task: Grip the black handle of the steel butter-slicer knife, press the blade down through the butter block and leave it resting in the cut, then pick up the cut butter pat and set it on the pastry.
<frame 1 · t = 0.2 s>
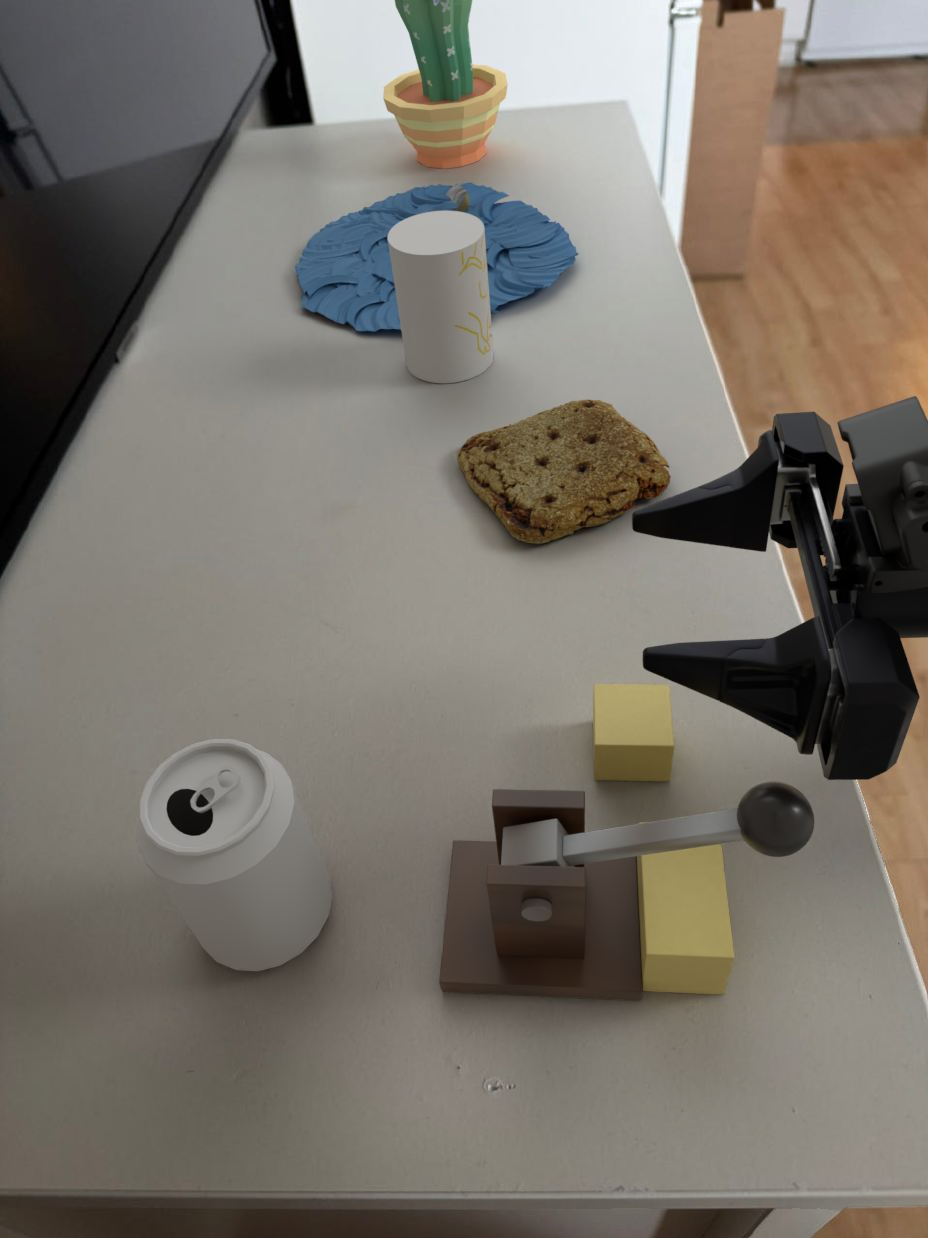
hand: (637, 585, 45), 15 cm above the table, tool horizontal, fingers open, 9 cm apart
potted cactus: (451, 155, 121), on the table
cup: (450, 360, 88), on the table
butter pat: (630, 750, 57), on the table
butter: (677, 926, 49), on the table
can: (268, 912, 52), on the table
decorative plate: (436, 264, 101), on the table
blade: (653, 837, 43), point 9 cm above the table, hinge at 20.0°
pastry: (560, 478, 75), on the table
slicer: (542, 921, 50), on the table
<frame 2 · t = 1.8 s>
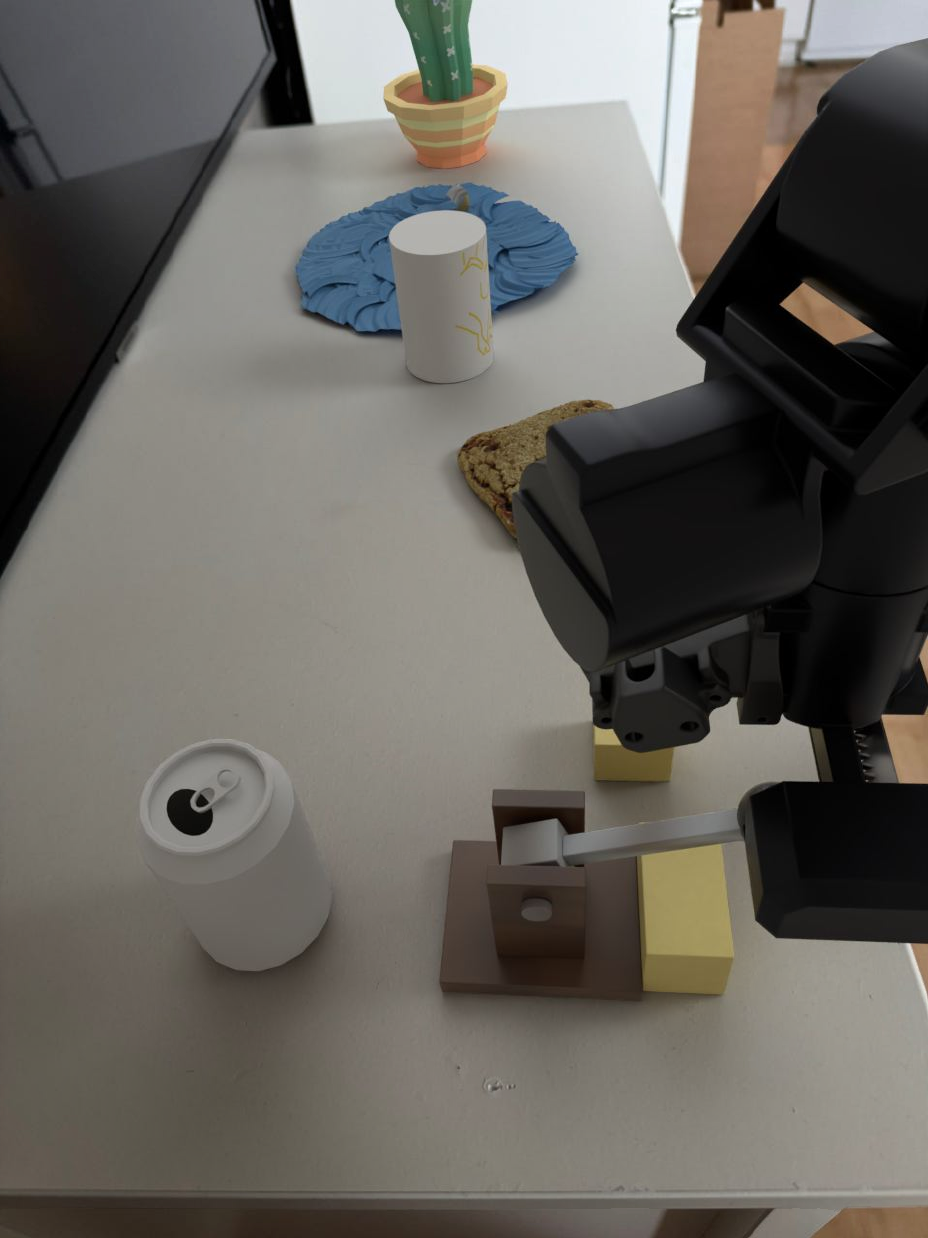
hand: (780, 804, 40), 12 cm above the table, tool pointing down, fingers open, 9 cm apart
nothing on the table moved.
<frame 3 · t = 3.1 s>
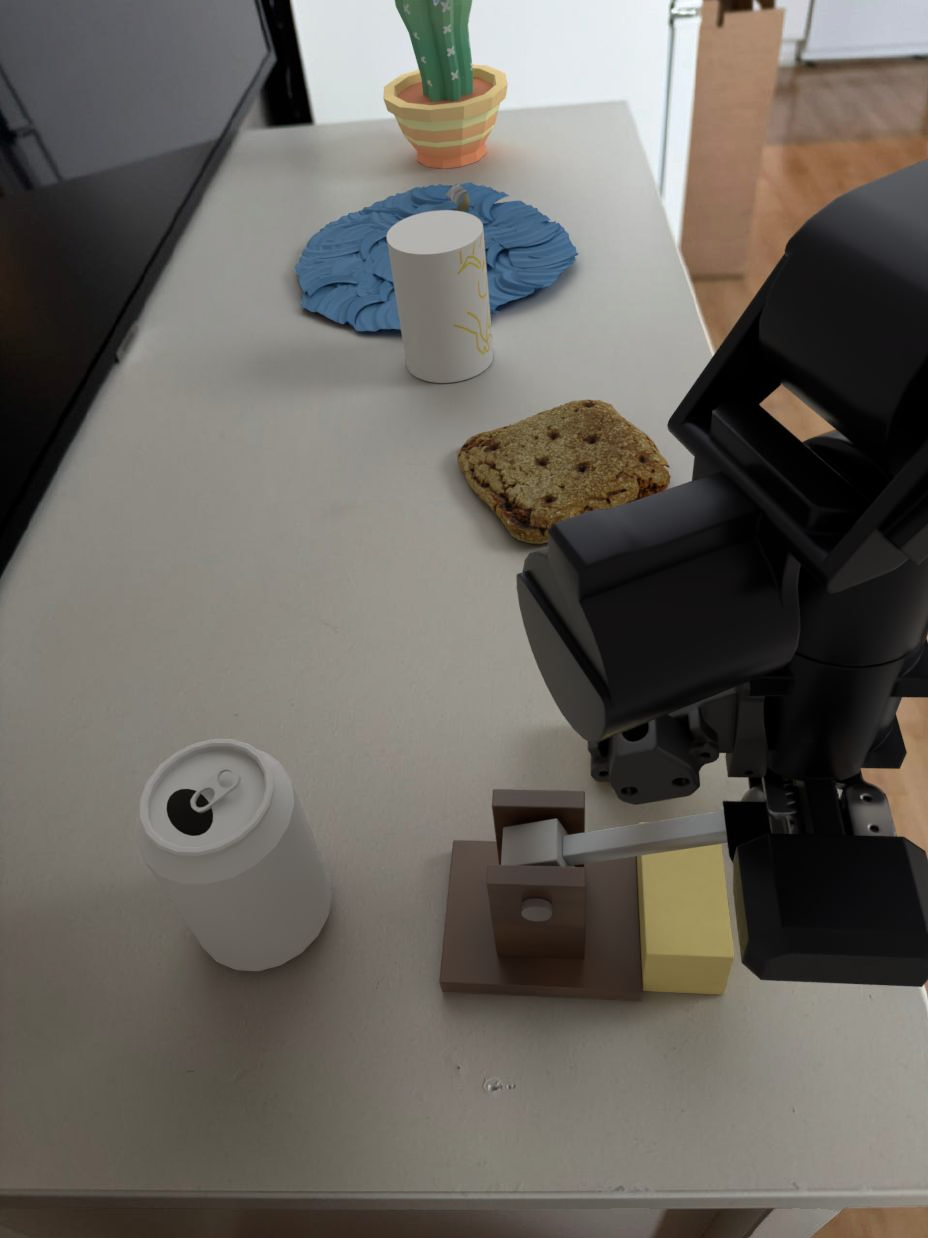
hand: (768, 841, 43), 9 cm above the table, tool pointing down, fingers closed on blade, 3 cm apart
blade: (653, 837, 43), point 9 cm above the table, hinge at 20.0°, touching gripper
everything else where it was.
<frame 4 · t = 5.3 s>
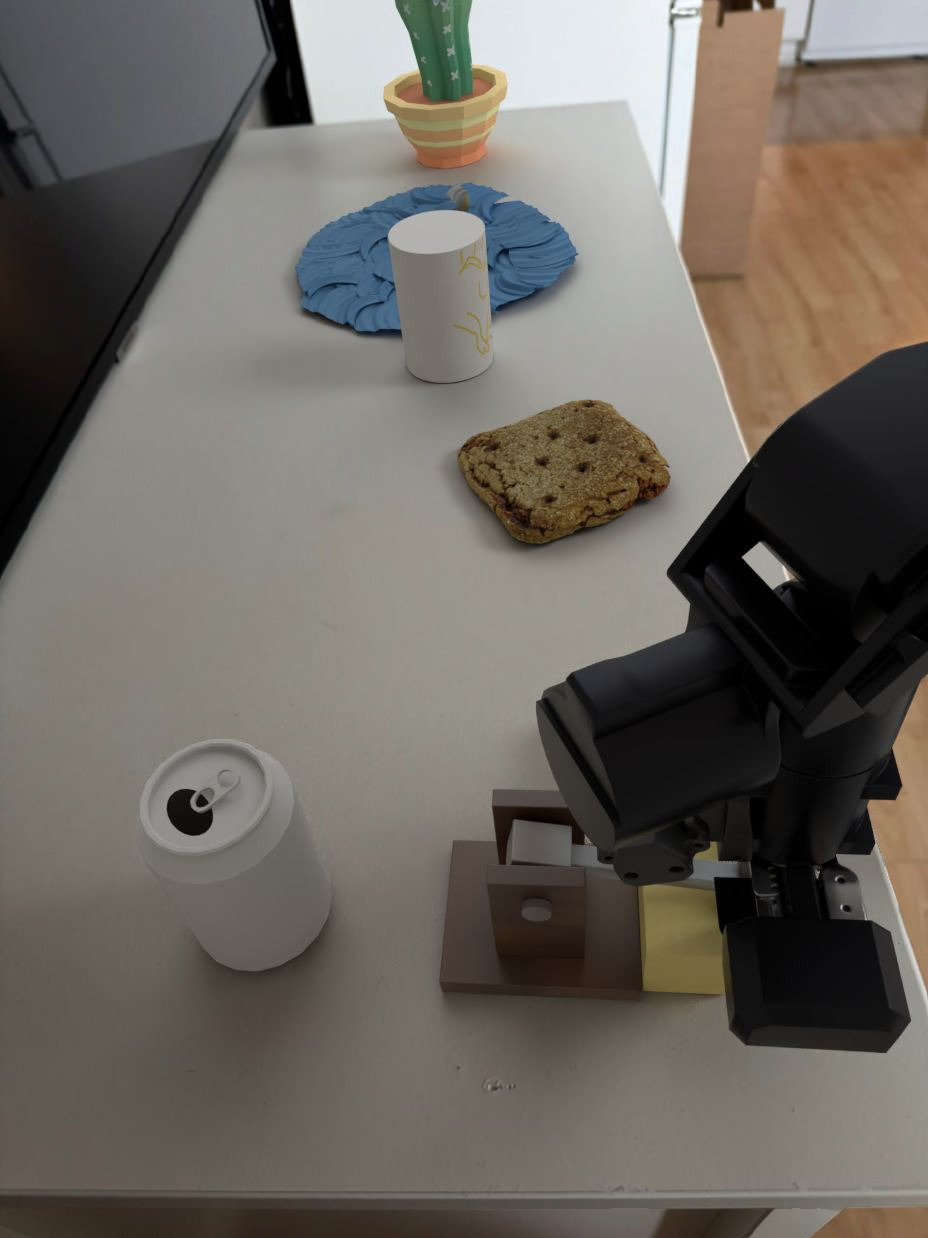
hand: (755, 904, 47), 3 cm above the table, tool pointing down, fingers closed on blade, 3 cm apart
blade: (655, 869, 45), point 6 cm above the table, hinge at -10.3°, touching gripper
everything else where it was.
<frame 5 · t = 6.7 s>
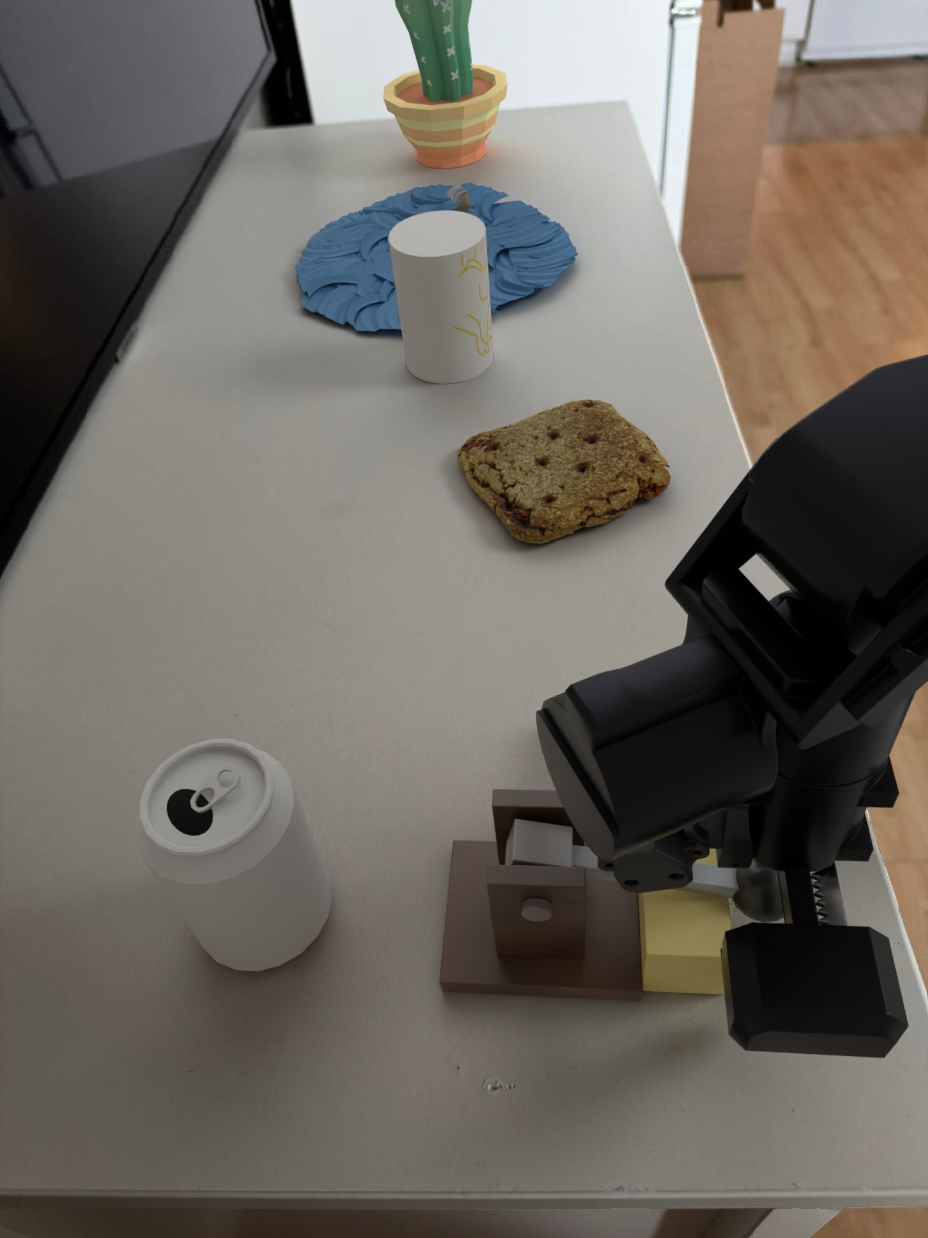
hand: (756, 909, 47), 2 cm above the table, tool pointing down, fingers open, 9 cm apart
blade: (653, 871, 45), point 6 cm above the table, hinge at -13.1°, touching butter
everything else where it was.
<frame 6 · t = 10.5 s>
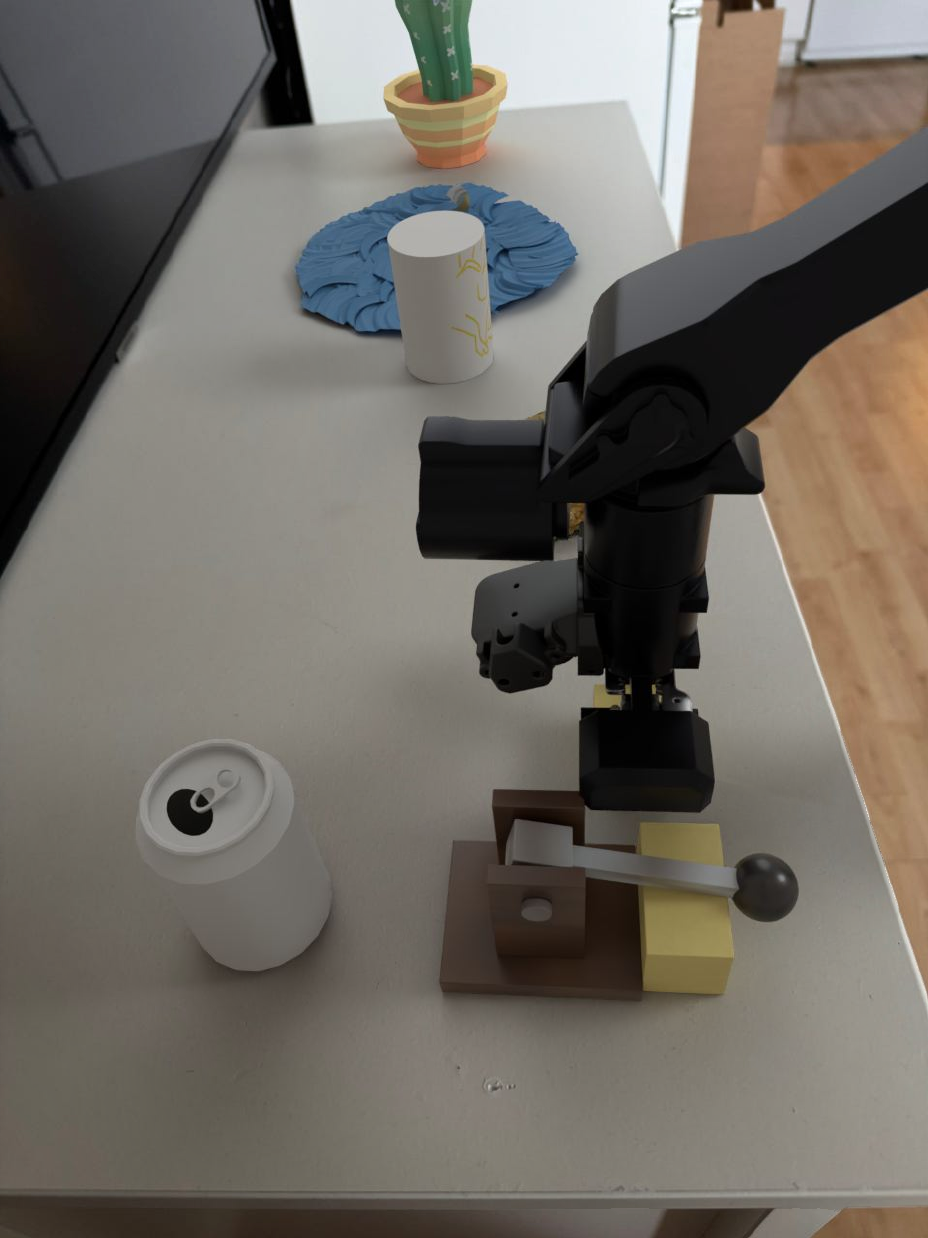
hand: (631, 740, 56), 1 cm above the table, tool pointing down, fingers closed on butter pat, 4 cm apart
butter pat: (630, 750, 57), on the table, touching gripper
everything else where it was.
when the fingers open (4 cm above the table, at t = 16.0 s): butter pat stays where it is, resting on pastry.
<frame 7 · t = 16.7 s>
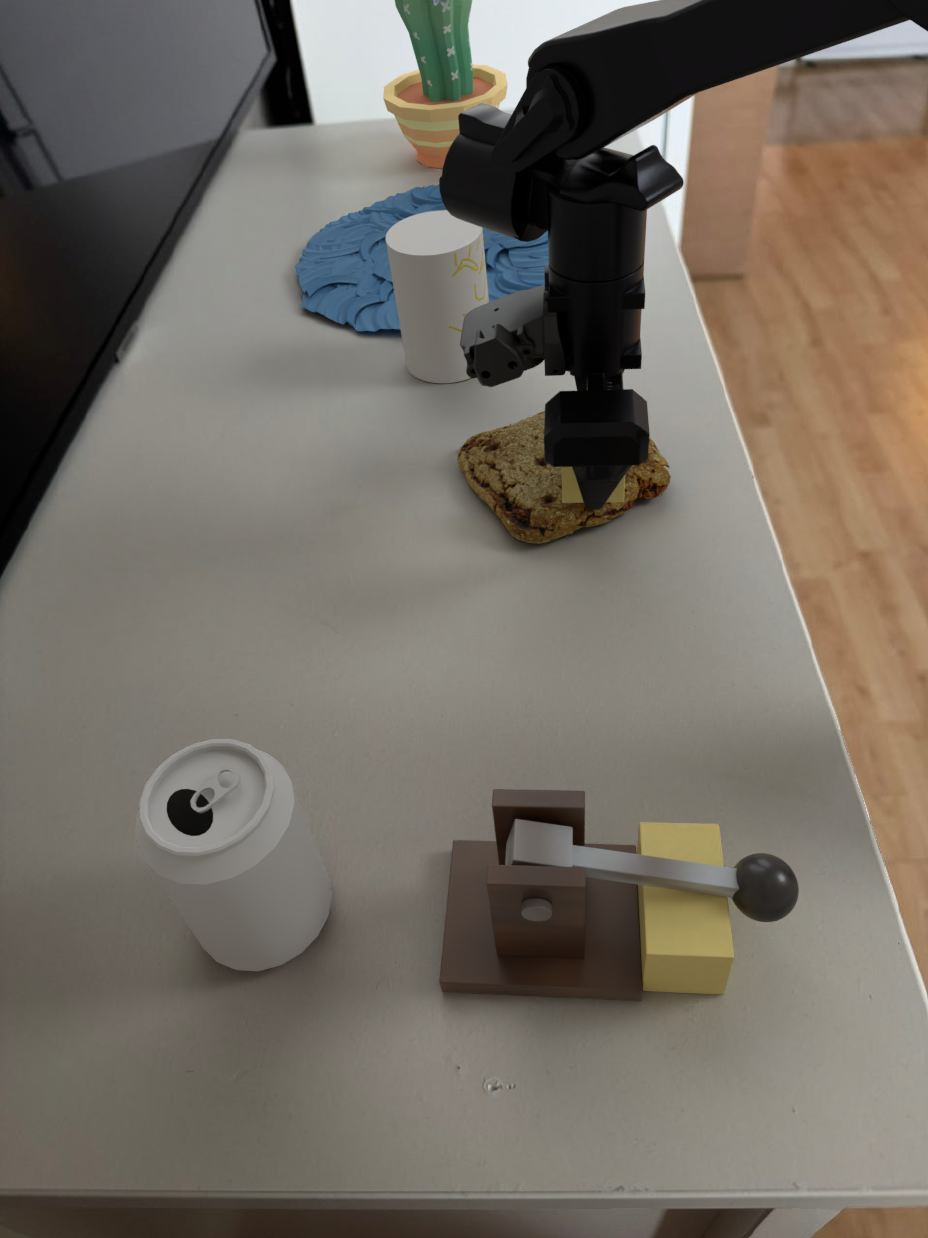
hand: (592, 466, 68), 5 cm above the table, tool pointing down, fingers open, 9 cm apart
butter pat: (592, 483, 69), point 3 cm above the table, touching pastry
pastry: (560, 478, 75), on the table, touching butter pat
everything else where it was.
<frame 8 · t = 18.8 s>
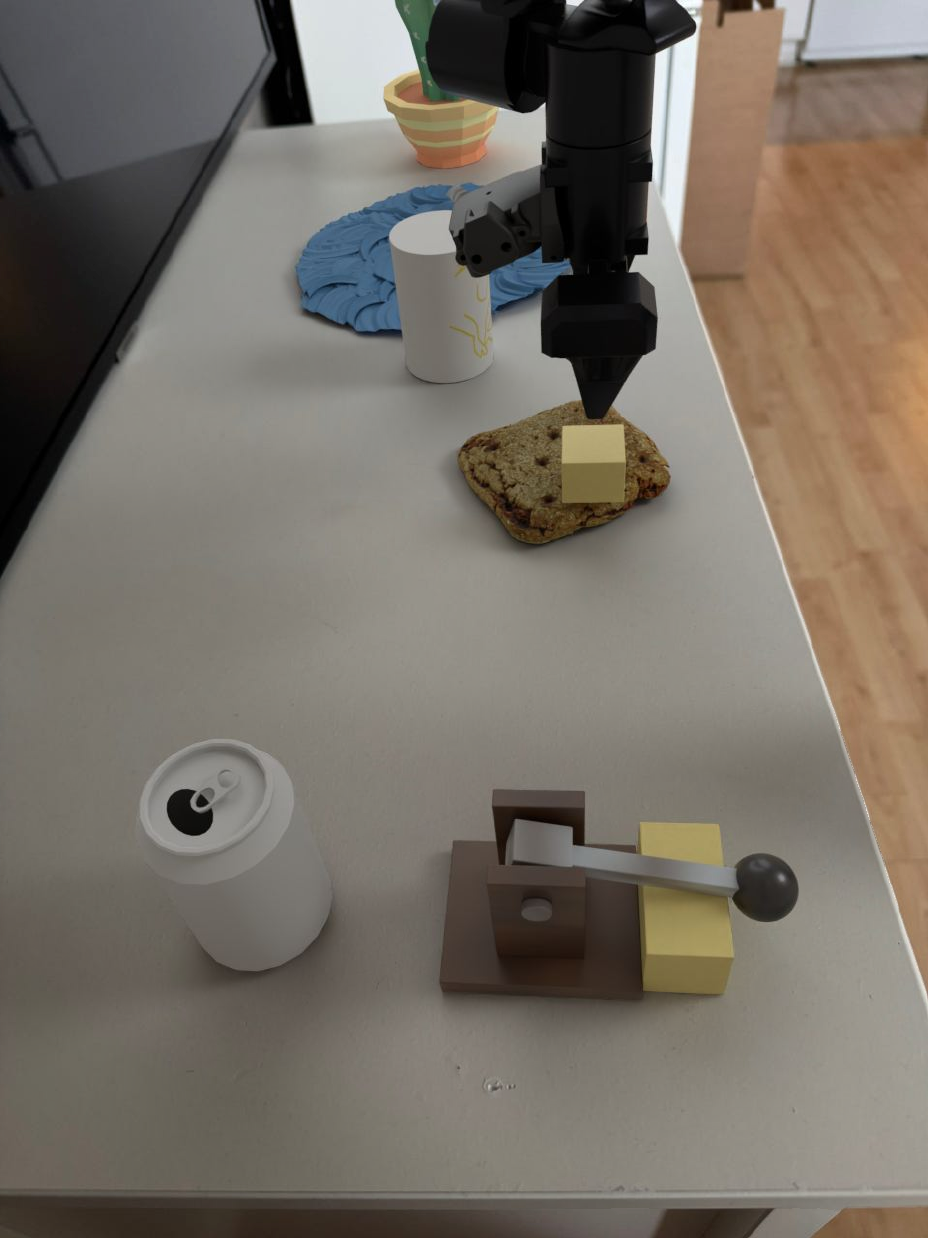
hand: (594, 376, 63), 12 cm above the table, tool pointing down, fingers open, 9 cm apart
nothing on the table moved.
at the end: blade reached -13° during the clip, -13° at the end; blade at -13° (first picture: +20°); butter pat inside the target area on the pastry (5.2 cm from its centre), point 3.2 cm above the pastry's base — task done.
